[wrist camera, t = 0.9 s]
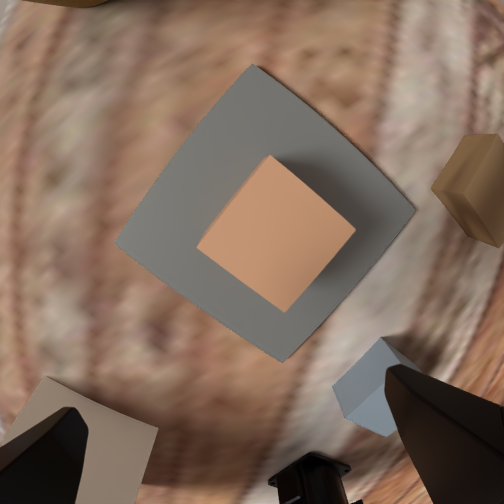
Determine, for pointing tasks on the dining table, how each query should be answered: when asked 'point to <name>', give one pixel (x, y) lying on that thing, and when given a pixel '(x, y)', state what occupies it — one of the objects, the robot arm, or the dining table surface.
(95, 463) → the milk
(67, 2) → the plant pot
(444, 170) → the walnut block
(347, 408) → the slate block
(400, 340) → the dining table surface
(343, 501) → the robot arm
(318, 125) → the tower base
